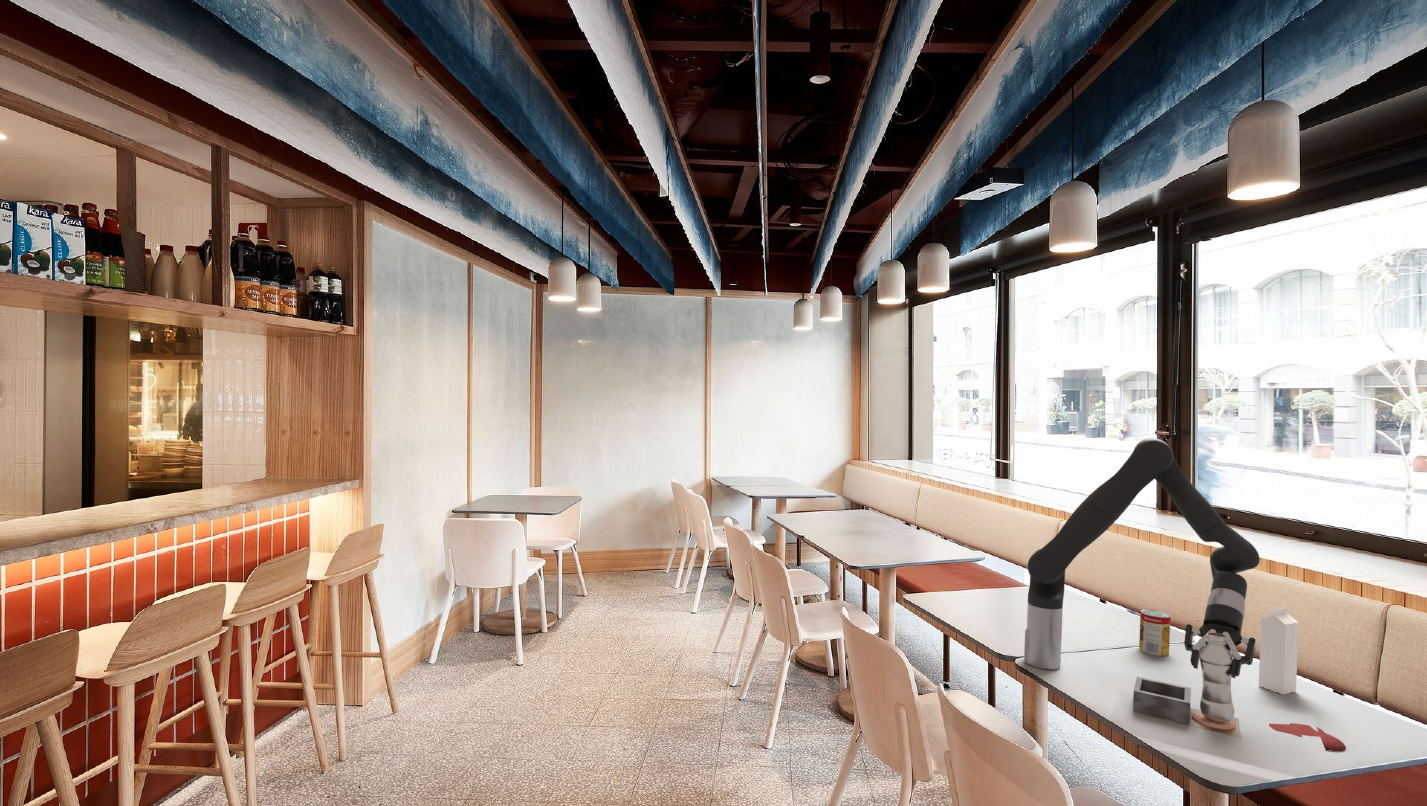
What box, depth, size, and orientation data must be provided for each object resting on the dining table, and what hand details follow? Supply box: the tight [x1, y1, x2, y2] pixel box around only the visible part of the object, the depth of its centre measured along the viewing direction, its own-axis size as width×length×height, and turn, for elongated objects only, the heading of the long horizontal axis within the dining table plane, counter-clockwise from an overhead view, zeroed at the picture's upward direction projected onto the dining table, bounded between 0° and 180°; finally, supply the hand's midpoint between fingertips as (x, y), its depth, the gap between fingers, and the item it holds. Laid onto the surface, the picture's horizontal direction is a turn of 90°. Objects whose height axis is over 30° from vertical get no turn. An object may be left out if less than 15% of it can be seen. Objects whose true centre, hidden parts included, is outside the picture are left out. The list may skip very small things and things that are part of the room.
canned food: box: [1138, 608, 1171, 657], centre depth 219 cm, size 8×8×12 cm
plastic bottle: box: [1199, 633, 1235, 723], centre depth 166 cm, size 6×7×20 cm
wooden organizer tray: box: [1132, 676, 1242, 739], centre depth 170 cm, size 21×12×6 cm, turn 56°
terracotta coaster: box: [1192, 712, 1236, 730], centre depth 166 cm, size 8×8×1 cm
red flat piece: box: [1268, 722, 1347, 752], centre depth 163 cm, size 18×14×2 cm
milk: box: [1258, 607, 1300, 696], centre depth 192 cm, size 6×6×22 cm
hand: (1213, 671), depth 165 cm, fingers open, 7 cm apart
